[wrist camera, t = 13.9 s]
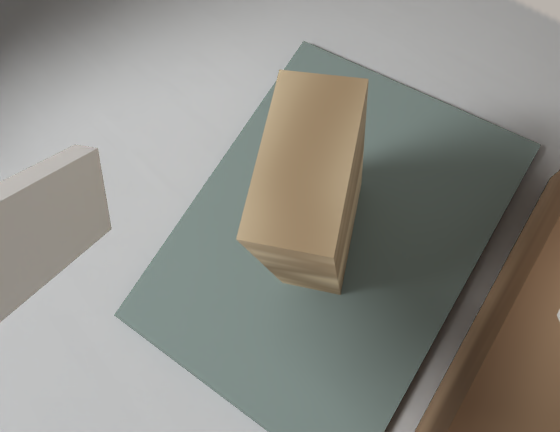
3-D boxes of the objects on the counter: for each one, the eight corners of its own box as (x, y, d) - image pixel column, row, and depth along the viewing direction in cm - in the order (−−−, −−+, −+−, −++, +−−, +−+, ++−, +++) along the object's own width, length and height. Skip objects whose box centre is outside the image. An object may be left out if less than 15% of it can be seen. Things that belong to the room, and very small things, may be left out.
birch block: (282, 283, 19) (236, 239, 11) (306, 175, 20) (279, 69, 12) (340, 295, 18) (333, 258, 10) (361, 183, 19) (368, 78, 12)
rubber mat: (118, 315, 20) (114, 315, 19) (304, 46, 22) (303, 41, 22) (350, 490, 16) (350, 493, 16) (537, 148, 19) (541, 144, 19)
